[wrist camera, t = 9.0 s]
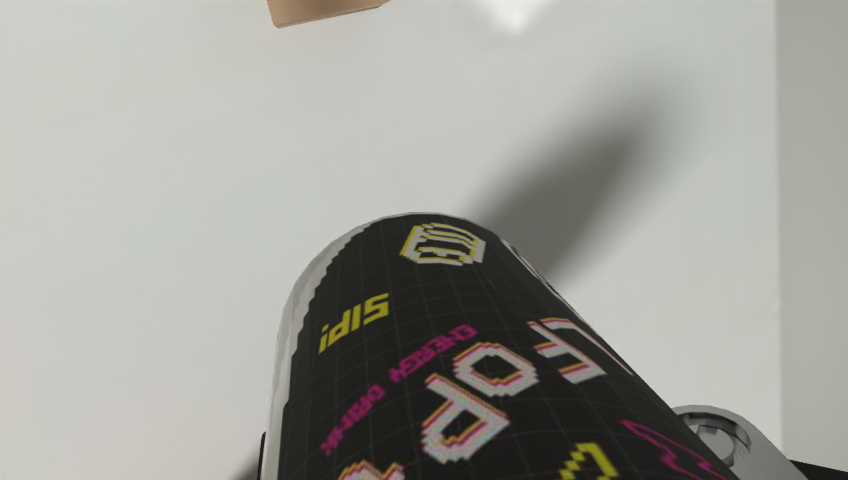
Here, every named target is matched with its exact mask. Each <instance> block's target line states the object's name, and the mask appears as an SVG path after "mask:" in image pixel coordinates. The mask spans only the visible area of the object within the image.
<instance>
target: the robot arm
mask: <svg viewBox="0 0 848 480" xmlns="http://www.w3.org/2000/svg"><path fill="white" fill-rule="evenodd" d="M672 410H673V411H674V412H675V413H676V414H677V415H678V416H679V417H680V418H681V419H682V420H683V421H684V422H685V423H686V424H687V425H688V427H689V428H690V429H691V430H692V431H693V432H694V433H695V434H696V435H697V436H698V437H699V438H700V439H701V440H702V441H703V442H704V443H705V444H706V445H707V446H708V447H709V448H710V449H711V450H712V451H713V452H714V453H715V454H716V455H717V456H718V457H719V458H720V459H721V460H722V461H723V462H724V463H725V464H726V465H727V466H728V467H729V468H730V469H731V470H732V472H733V473H734V474H735V475H736V476H737V477H738V478H739V479H740V480H848V472H845V471H840V470H835V469H830V468H826V467H821V466H817V465H812V464H807V463H803V462H798V461H793V460H788V459H787V458H786V457H785V456H784V455H783V454H782V453H781V452H780V451H779V450H778V449H777V448H776V447H775V446H774V445H773V444H772V443H771V442H770V441H769V440H768V439H767V438H766V437H765V436H764V435H763V434H762V433H761V432H760V431H759V430H758V429H757V428H756V427H755V426H754V425H753V424H751V423H750V422H749V421H747V420H746V419H745V418H743V417H742V416H740V415H737V414H735V413H733V412H731V411H728V410H725V409H721V408H717V407H713V406H704V405H687V406H680V407H675V408H672ZM265 436H266V432H264V433H263V435H262V439H261V447H260V457H259V466H258V475H257V480H260V477H261V469H262V461H263V453H264V444H265Z"/></svg>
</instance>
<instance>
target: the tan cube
mask: <svg viewBox="0 0 848 480" xmlns="http://www.w3.org/2000/svg"><path fill="white" fill-rule="evenodd" d="M388 1H390V0H267V3H268V6H269V10H270V14H271V17H272V21H273V24H274V25H275V26H276V27H277V28H283V27H287V26H292V25H297V24H302V23H307V22H311V21H316V20H321V19H326V18H331V17H335V16H340V15H345V14H350V13H355V12H359V11H364V10H369V9H374V8H378V7H379V6H381V5H383V4H385V3H386V2H388Z"/></svg>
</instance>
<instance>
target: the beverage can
mask: <svg viewBox="0 0 848 480" xmlns="http://www.w3.org/2000/svg"><path fill="white" fill-rule="evenodd" d="M260 480H740V479H739V478H738V477H737V476H736V475H735V474H734V473H733V472H732V470H731V469H730V468H729V467H728V466H727V465H726V464H725V463H724V462H723V461H722V460H721V459H720V458H719V457H718V456H717V455H716V454H715V453H714V452H713V451H712V450H711V449H710V448H709V447H708V446H707V445H706V444H705V443H704V442H703V441H702V440H701V439H700V438H699V437H698V436H697V435H696V434H695V433H694V432H693V431H692V430H691V429H690V428H689V427H688V425H687V424H686V423H685V422H684V421H683V420H682V419H681V418H680V417H679V416H678V415H677V414H676V413H675V412H674V411H673V410H672V409H671V408H670V407H669V406H668V405H667V404H666V403H665V402H664V401H663V400H662V399H661V398H660V397H659V396H658V395H657V394H656V393H655V392H654V391H653V390H652V389H651V388H650V387H649V386H648V385H647V384H646V383H645V382H644V380H643V379H642V378H641V377H640V376H639V375H638V374H637V373H636V372H635V371H634V370H633V369H632V368H631V367H630V366H629V365H628V364H627V363H626V362H625V361H624V360H623V359H622V358H621V357H620V356H619V355H618V354H617V353H616V352H615V351H614V350H613V349H612V348H611V347H610V346H609V345H608V344H607V343H606V342H605V341H604V340H603V339H602V338H601V337H600V336H599V334H598V333H597V332H596V331H595V330H594V329H593V328H592V327H591V326H590V325H589V324H588V323H587V322H586V321H585V320H584V319H583V318H582V317H581V316H580V315H579V314H578V313H577V312H576V311H575V310H574V309H573V308H572V307H571V306H570V305H569V304H568V303H567V302H566V301H565V300H564V299H563V298H562V297H561V296H560V295H559V294H558V293H557V292H556V291H555V289H554V288H553V287H552V286H551V285H550V284H549V283H548V282H547V281H546V280H545V279H544V278H543V277H542V276H541V275H540V274H539V273H538V272H537V271H536V270H535V269H534V268H533V267H532V266H531V265H530V264H529V263H528V262H527V261H526V260H525V259H524V258H523V257H522V256H521V255H520V254H519V253H518V252H517V251H516V250H515V249H514V248H513V247H512V246H511V244H509V243H508V242H506V241H505V240H504V239H502V238H501V237H499V236H498V235H497V234H495V233H494V232H493V231H491V230H490V229H488V228H485V227H483V226H481V225H479V224H476V223H474V222H472V221H470V220H467V219H465V218H461V217H456V216H452V215H447V214H442V213H430V212H409V213H403V214H398V215H392V216H386V217H382V218H379V219H377V220H374V221H371V222H369V223H366V224H363V225H361V226H358V227H356V228H354V229H352V230H351V231H349V232H348V233H346V234H344V235H343V236H341V237H339V238H338V239H336V240H335V241H333V242H332V243H330V244H329V245H328V246H327V247H326V248H325V249H324V250H323V251H322V252H321V253H320V254H318V255H317V256H316V257H315V258H314V259H313V260H312V261H311V262H310V264H309V265H308V266H307V268H306V269H305V270H304V272H303V273H302V274H301V276H300V277H299V279H298V280H297V281H296V283H295V285H294V287H293V289H292V291H291V293H290V296H289V298H288V300H287V302H286V305H285V307H284V309H283V313H282V318H281V323H280V327H279V332H278V338H277V346H276V354H275V363H274V371H273V379H272V387H271V395H270V403H269V412H268V420H267V428H266V436H265V444H264V453H263V461H262V469H261V477H260Z"/></svg>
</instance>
